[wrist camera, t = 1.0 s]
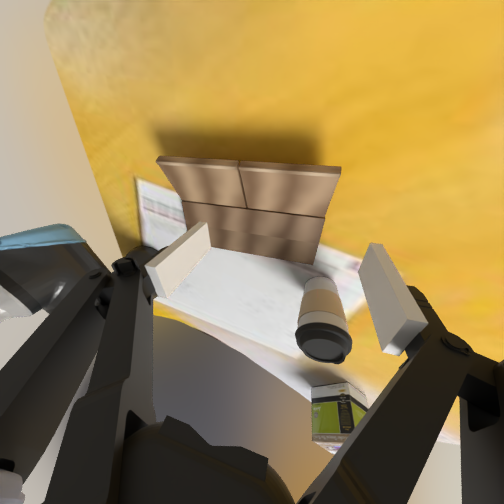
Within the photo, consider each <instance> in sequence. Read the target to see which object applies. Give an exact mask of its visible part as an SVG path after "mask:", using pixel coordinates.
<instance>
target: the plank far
mask: <svg viewBox="0 0 504 504" xmlns="http://www.w3.org/2000/svg"><path fill="white" fill-rule="evenodd" d="M156 163H157V164H158V165H159V166H160V168H161V169H162V171H163V172H164V174H165V175H166V177H167V178H168V180H169V181H170V183H171V184H172V186H173V187H174V189H175V190H176V192H177V193H178V195H179V196H180V198H181V199H182V200H185V201H193V202H202V203H210V204H218V205H227V206H235V207H243V208H246V206H247V201H246V197H245V192H244V187H243V183H242V178H241V174H240V170H239V160H222V159H206V158H189V157H173V156H159V157H158V158H157V160H156Z"/></svg>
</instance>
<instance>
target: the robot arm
mask: <svg viewBox="0 0 504 504" xmlns="http://www.w3.org/2000/svg"><path fill="white" fill-rule="evenodd" d="M210 249H211V244H210V237H209V231H208V225H207V222H198V223H197V224H196V225H195V226H193V227H192V228H191V229H190V230H188V231H187V232H186V233H185V234H183V235H182V236H181V237H180V238H178V239H177V240H176V241H175V242H173V243H172V244H171V245H170V246H167V247H164V248H162V249H160V250H159V251H157V250H155V249H152V248H150V247H146V246H139V247H136V248H135V249H133V250H132V251H130V252H129V253H128V254H127V255H126V257H123V258H121V259H118V260H116V261H115V262H114V263H113V264H112V268H113V270H114V272H112V273H111V272H110V271H109V270H108V268H107V267H106V266H105V265H104V264H103V262H102V261H101V260H100V259H99V258H98V256H97V255H96V254H95V253H94V252H93V250H92V249H91V248H90V247H89V245H88V244H87V243H86V240H84V239H83V238H81V236H80V235H79V234H78V233H77V232H76V231H75V230H74V229H73V228H72V227H70V226H69V225H66V224H53V225H49V226H44V227H40V228H36V229H31V230H27V231H23V232H19V233H15V234H11V235H7V236H3V237H0V323H1V322H2V321H4V320H6V319H9V318H13V317H27V316H31V315H33V314H34V313H36V312H38V311H39V310H41V309H44V310H45V311H46V312H48V313H49V314H50V315H49V316H48V317H47V318H45V320H44V321H43V322H42V324H41V325H40V326H39V327H38V328H37V329H36V331H35V332H34V333H33V334H32V335H31V336H30V337H29V338H28V340H27V341H26V342H25V343H24V344H23V345H22V346H21V347H20V349H19V350H18V351H17V352H16V353H15V354H14V355H13V357H12V358H11V359H10V360H9V361H8V362H7V363H6V365H5V366H4V367H3V368H2V369H1V370H0V504H23V503H24V500H25V495H24V494H23V493H22V492H21V490H22V485H23V484H24V482H25V481H26V479H27V478H28V477H29V475H30V474H31V472H32V471H33V469H34V467H35V466H36V464H37V463H38V461H39V460H40V457H41V456H42V455H43V453H44V452H45V450H46V448H47V446H48V445H49V443H50V441H51V439H52V437H53V436H54V434H55V432H56V430H57V428H58V426H59V424H60V422H61V420H62V418H63V416H64V415H65V413H66V411H67V409H68V407H69V405H70V403H71V401H72V399H73V397H74V395H75V393H76V391H77V389H78V388H79V386H80V384H81V382H82V380H83V378H84V376H85V374H86V372H87V370H88V368H89V366H90V364H91V362H92V360H93V359H94V357H95V355H96V353H97V356H96V360H95V364H94V368H93V371H92V376H91V379H90V383H89V387H88V391H87V393H86V394H85V396H83V397H81V398H79V399H78V400H77V401H76V402H75V404H74V406H73V408H72V411H71V413H70V417H69V420H68V423H67V427H66V430H65V433H64V437H63V440H62V444H61V447H60V450H59V454H58V457H57V460H56V464H55V467H54V471H53V474H52V477H51V481H50V484H49V487H48V491H47V494H46V498H45V501H44V502H43V503H42V504H295V503H294V500H293V498H292V496H291V494H290V492H289V490H288V488H287V487H286V485H285V483H284V482H283V480H282V479H281V477H280V476H279V475H278V474H277V472H276V471H275V470H274V469H273V468H272V467H271V466H270V465H269V464H268V458H267V457H264V456H262V455H259V454H257V453H255V452H252V451H250V450H248V449H245V448H243V447H236V446H212V445H209V444H208V443H207V442H206V441H205V440H204V439H203V438H202V437H201V436H200V435H199V434H198V433H197V432H196V431H195V430H194V429H193V428H192V427H191V426H190V425H188V424H186V423H184V422H181V421H179V420H177V419H174V418H172V417H170V416H166V418H165V420H164V421H162V422H156V415H155V410H154V407H153V399H152V397H153V392H152V391H153V389H152V388H153V299H154V298H156V297H157V296H158V297H162V298H166V299H168V297H169V296H170V295H171V294H172V293H173V292H174V291H175V289H176V288H177V287H178V286H179V285H180V284H181V283H182V281H183V280H184V279H185V278H186V277H187V276H188V274H189V273H190V272H191V271H192V270H193V269H194V268H195V266H196V265H197V264H198V263H199V262H200V261H201V260H202V258H203V257H204V256H205V255H206V254H207V253H208V252H209V250H210ZM358 273H359V277H360V280H361V283H362V287H363V290H364V293H365V297H366V300H367V303H368V306H369V310H370V313H371V316H372V320H373V323H374V326H375V330H376V333H377V336H378V339H379V343H380V346H381V349H382V352H385V353H389V354H393V355H397V356H400V355H401V354H402V352H403V351H404V350H405V351H406V354H407V356H408V359H407V360H406V361H405V362H404V363H403V364H402V365H401V366H400V367H399V370H398V371H397V373H396V374H395V375H394V377H393V378H392V379H391V381H390V382H389V383H388V385H387V386H386V387H385V389H384V390H383V391H382V393H381V394H380V395H379V397H378V398H377V399H376V401H375V402H374V403H373V404H372V406H371V407H370V408H369V410H368V411H367V412H366V414H365V415H364V416H363V418H362V419H361V420H360V422H359V423H358V424H357V426H356V427H355V428H354V430H353V431H352V432H351V434H350V435H349V436H348V438H347V439H346V440H345V442H344V443H343V444H342V446H341V447H340V448H339V450H338V451H337V452H336V454H335V455H334V456H333V458H332V459H331V460H330V462H329V463H328V465H327V466H326V467H325V469H324V470H323V471H322V472H321V473H320V474H319V476H318V477H317V478H316V479H315V480H314V481H313V483H312V484H311V485H310V486H309V488H308V489H307V490H306V491H305V493H304V494H303V495H302V497H301V498H300V499H299V501H298V502H297V503H296V504H407V502H408V500H409V498H410V496H411V494H412V492H413V489H414V487H415V485H416V483H417V481H418V479H419V476H420V474H421V472H422V470H423V468H424V466H425V464H426V461H427V459H428V457H429V455H430V453H431V450H432V448H433V446H434V444H435V442H436V440H437V438H438V435H439V433H440V431H441V429H442V427H443V425H444V422H445V420H446V418H447V416H448V414H449V412H450V410H451V407H452V405H453V403H454V401H455V399H456V397H457V396H459V399H460V440H461V478H462V480H461V482H462V504H504V360H503V361H501V362H496V361H494V360H492V359H489V358H487V357H484V356H482V355H480V354H477V353H475V352H474V351H473V350H472V348H471V347H470V346H469V345H468V344H467V343H466V342H465V341H464V340H463V339H461V338H460V337H458V336H457V335H455V334H452V333H450V332H448V331H447V329H446V328H445V326H444V325H443V323H442V322H441V320H440V319H439V317H438V315H437V314H436V312H435V311H434V309H432V306H431V305H430V303H428V300H427V299H426V297H425V296H424V294H423V293H422V292H420V291H419V290H418V289H417V288H416V287H414V286H408V285H406V284H405V282H404V281H403V279H402V277H401V276H400V274H399V272H398V270H397V269H396V267H395V265H394V264H393V262H392V260H391V259H390V257H389V255H388V253H387V252H386V250H385V248H384V247H383V245H382V244H376V243H370V245H369V247H368V249H367V252H366V254H365V256H364V259H363V261H362V264H361V266H360V268H359V271H358ZM97 351H98V352H97Z"/></svg>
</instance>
